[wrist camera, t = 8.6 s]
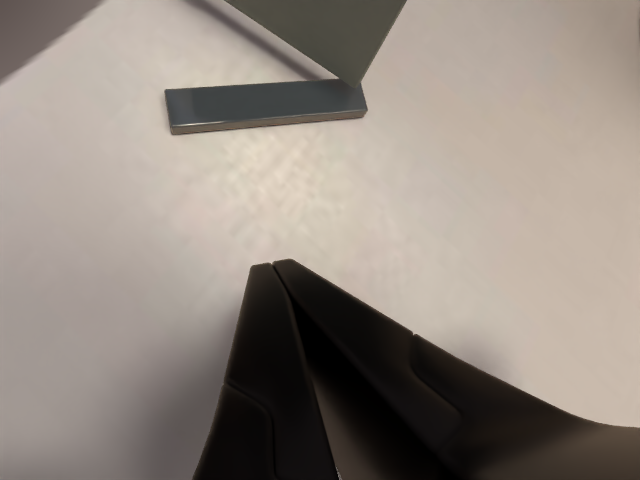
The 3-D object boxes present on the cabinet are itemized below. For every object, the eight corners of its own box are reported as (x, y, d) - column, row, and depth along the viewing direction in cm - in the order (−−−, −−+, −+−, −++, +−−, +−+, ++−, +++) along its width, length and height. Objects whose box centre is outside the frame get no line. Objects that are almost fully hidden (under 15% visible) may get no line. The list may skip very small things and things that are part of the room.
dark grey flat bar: (363, 117, 18) (368, 110, 18) (171, 135, 16) (170, 127, 16) (355, 84, 19) (359, 76, 18) (165, 97, 16) (164, 88, 16)
